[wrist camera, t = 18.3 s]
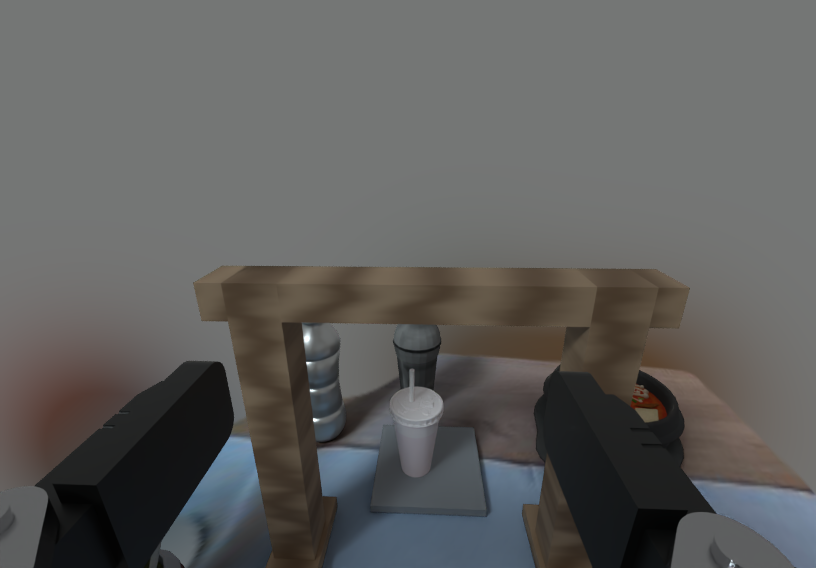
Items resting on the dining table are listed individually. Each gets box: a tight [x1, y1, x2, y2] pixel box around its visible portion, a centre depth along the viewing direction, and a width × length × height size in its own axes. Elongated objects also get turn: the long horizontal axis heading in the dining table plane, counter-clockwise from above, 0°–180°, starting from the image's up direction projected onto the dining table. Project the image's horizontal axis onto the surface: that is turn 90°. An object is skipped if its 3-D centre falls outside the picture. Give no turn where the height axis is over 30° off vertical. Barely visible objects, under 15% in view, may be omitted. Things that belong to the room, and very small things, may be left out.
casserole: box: [534, 364, 684, 466], centre depth 52 cm, size 25×19×8 cm
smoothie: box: [389, 369, 444, 477], centre depth 45 cm, size 6×6×14 cm
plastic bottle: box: [302, 323, 346, 442], centre depth 51 cm, size 6×7×20 cm
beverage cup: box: [393, 324, 441, 390], centre depth 57 cm, size 7×7×20 cm
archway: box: [193, 266, 690, 568], centre depth 33 cm, size 34×10×30 cm, turn 87°
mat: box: [370, 425, 487, 517], centre depth 48 cm, size 13×13×1 cm
